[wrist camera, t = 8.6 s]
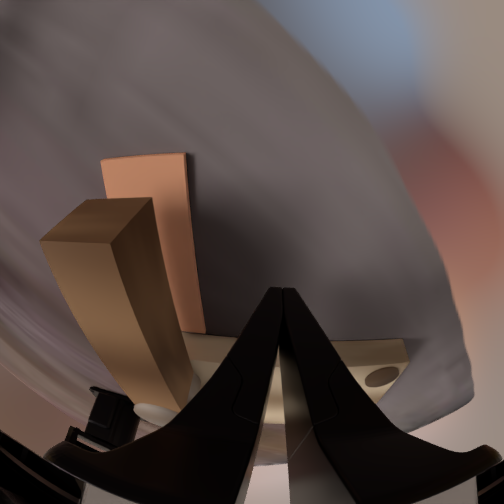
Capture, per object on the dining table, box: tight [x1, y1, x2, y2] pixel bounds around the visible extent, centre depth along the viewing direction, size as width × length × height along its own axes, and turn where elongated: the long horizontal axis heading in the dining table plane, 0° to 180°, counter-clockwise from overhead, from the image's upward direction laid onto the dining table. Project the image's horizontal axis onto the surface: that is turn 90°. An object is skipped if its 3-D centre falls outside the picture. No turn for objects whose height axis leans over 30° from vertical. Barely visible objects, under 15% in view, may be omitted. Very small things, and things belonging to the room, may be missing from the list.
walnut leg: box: [40, 197, 201, 427], centre depth 11 cm, size 14×4×3 cm, turn 0°
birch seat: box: [182, 332, 410, 424], centre depth 18 cm, size 10×17×2 cm, turn 89°
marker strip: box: [101, 153, 206, 334], centre depth 13 cm, size 10×4×1 cm, turn 179°
